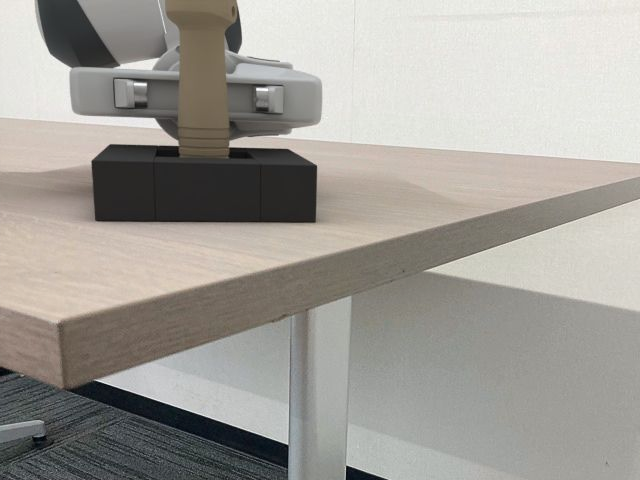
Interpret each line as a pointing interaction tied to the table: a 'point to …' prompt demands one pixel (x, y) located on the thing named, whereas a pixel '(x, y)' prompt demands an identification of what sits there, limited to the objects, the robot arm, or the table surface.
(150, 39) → the robot arm
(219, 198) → the black slotted base
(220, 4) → the handle
